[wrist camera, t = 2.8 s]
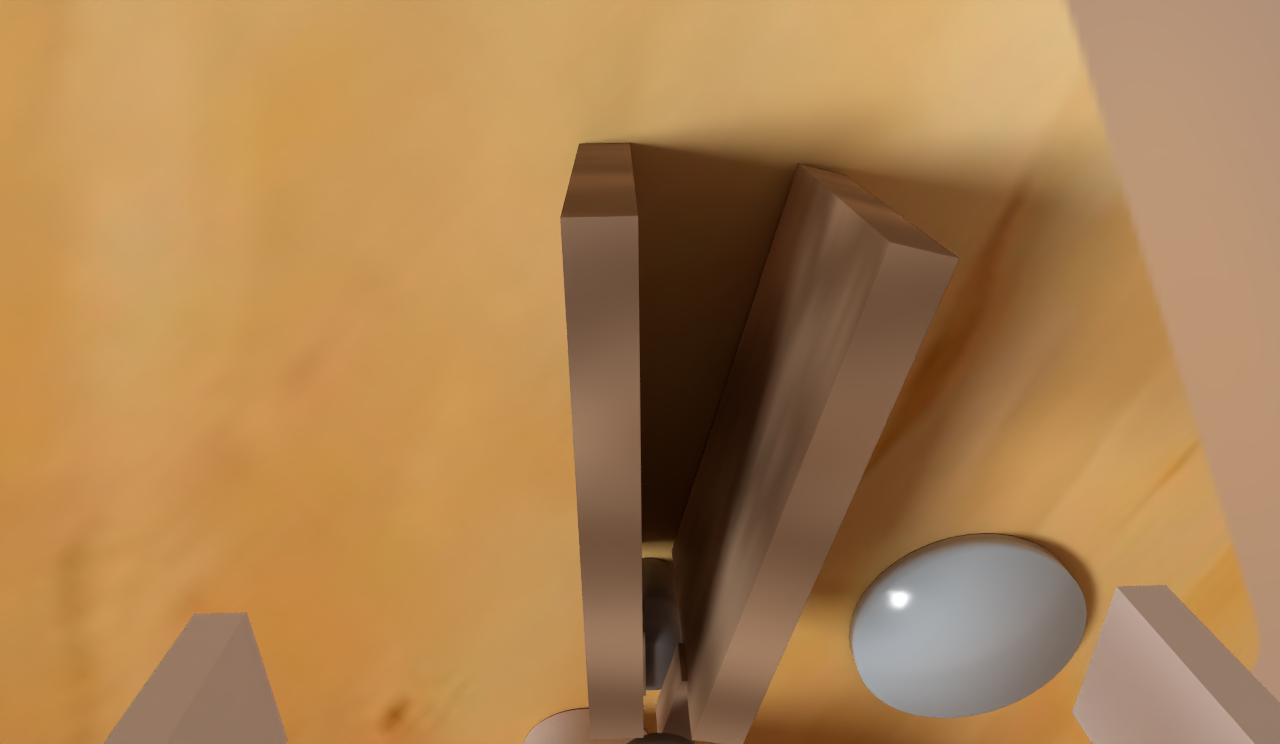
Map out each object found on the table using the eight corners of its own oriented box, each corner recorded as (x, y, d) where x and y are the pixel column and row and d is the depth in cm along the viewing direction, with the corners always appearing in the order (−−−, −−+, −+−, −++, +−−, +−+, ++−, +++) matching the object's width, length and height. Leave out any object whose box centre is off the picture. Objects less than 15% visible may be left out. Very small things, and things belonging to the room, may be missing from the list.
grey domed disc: (864, 537, 31) (871, 553, 30) (1100, 530, 31) (1115, 546, 30) (837, 703, 35) (843, 721, 34) (1044, 696, 35) (1055, 714, 34)
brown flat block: (579, 143, 23) (559, 220, 15) (689, 142, 23) (731, 216, 15) (600, 606, 32) (594, 815, 24) (680, 604, 32) (703, 812, 24)
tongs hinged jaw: (792, 161, 23) (881, 240, 16) (845, 174, 24) (959, 258, 16) (649, 603, 31) (661, 800, 24) (690, 610, 32) (714, 807, 24)
